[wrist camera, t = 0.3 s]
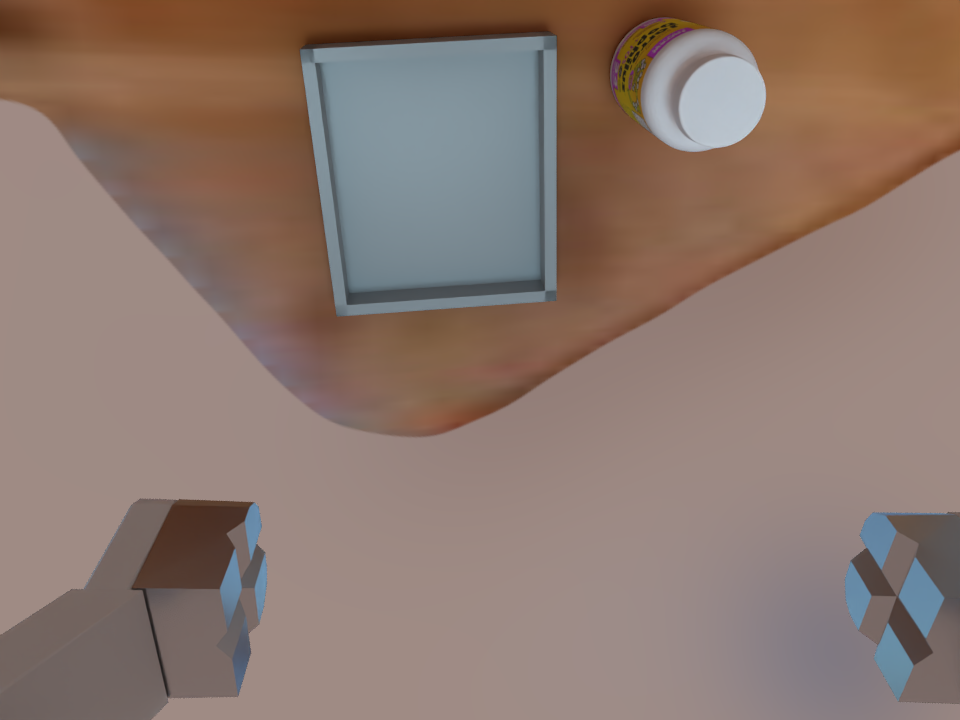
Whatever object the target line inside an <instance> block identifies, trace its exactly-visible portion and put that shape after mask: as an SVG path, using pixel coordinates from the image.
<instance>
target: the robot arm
mask: <svg viewBox="0 0 960 720" xmlns="http://www.w3.org/2000/svg"><path fill="white" fill-rule="evenodd" d="M261 527H262V524H261V518H260V513H259V507H258V506H257V505H256V503H254V502H234V501H207V500H181V499H179V500H166V499H139V500H138V501H136V502H135V503H133V504H132V505H131V506H130V508H129V510H128V511H127V513H126V515H125V517H124V519H123V520H122V522H121V524H120V526H119V527H118V529H117V531H116V533H115V534H114V536H113V538H112V540H111V542H110V543H109V545H108V547H107V549H106V550H105V552H104V554H103V556H102V557H101V559H100V561H99V563H98V565H97V566H96V568H95V570H94V571H93V573H92V575H91V577H90V579H89V580H88V582H87V584H86V586H85V587H84V589H71V590H70V591H68V592H66V593H65V594H63V595H62V596H60V597H59V598H57V599H56V600H54V601H53V602H51V603H49V604H48V605H46V606H45V607H43V608H42V609H40V610H39V611H37V612H36V613H34V614H32V615H31V616H29V617H28V618H26V619H25V620H23V621H22V622H20V623H18V624H17V625H15V626H14V627H12V628H11V629H9V630H8V631H6V632H5V633H3V634H1V635H0V720H151V719H152V718H153V717H154V716H155V715H156V714H157V713H158V712H159V711H160V710H161V709H162V708H163V707H164V706H165V705H166V704H167V703H168V698H202V697H238V695H239V692H240V689H241V685H242V682H243V678H244V675H245V671H246V668H247V664H248V661H249V658H250V654H251V648H250V641H249V634H248V633H250V632H251V631H252V630H253V629H254V628H255V627H257V626H258V625H259V623H260V619H261V615H262V611H263V608H264V602H265V594H266V587H267V564H266V556H265V552H264V551H263V550H262V549H261V548H260V547H259V546H258V545H257V544H256V543H257V540H258V537H259V533H260V531H261ZM860 537H861V539H862V541H863V542H864V544H865V546H866V549H864V550H863V551H862V552H861V553H860V554H858V555H857V556H856V557H854V558H853V559H852V560H851V561H850V565H849V568H848V571H847V574H846V577H845V595H846V596H845V597H846V603H847V606H848V610H849V613H850V616H851V618H852V620H853V621H854V623H855V625H856V627H857V629H858V631H860V632H861V633H862V634H864V635H865V636H866V637H868V638H869V639H871V640H872V641H873V642H875V643H876V644H877V649H876V652H875V656H874V660H875V661H876V663H877V665H878V667H879V669H880V670H881V672H882V674H883V676H884V677H885V679H886V681H887V683H888V685H889V686H890V688H891V690H892V692H893V693H894V695H895V697H896V699H897V701H898V702H922V703H950V704H951V703H952V704H960V512H948V513H946V514H945V513H872V514H871V515H870V516H869V517H868V518H867V519H866V521H865V523H864V525H863V528H862V530H861V533H860Z"/></svg>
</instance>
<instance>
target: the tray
mask: <svg viewBox="0 0 960 720" xmlns="http://www.w3.org/2000/svg"><path fill="white" fill-rule="evenodd" d="M300 55H301V62H302V69H303V76H304V84H305V91H306V98H307V105H308V112H309V120H310V127H311V134H312V141H313V148H314V156H315V163H316V170H317V177H318V185H319V192H320V199H321V206H322V213H323V221H324V228H325V235H326V242H327V249H328V257H329V264H330V271H331V278H332V285H333V293H334V300H335V307H336V314H337V316H350V315H364V314H378V313H392V312H406V311H420V310H434V309H447V308H461V307H475V306H489V305H503V304H517V303H531V302H545V301H556V69H557V36H556V35H555V34H553V33H551V32H549V31H546V32H527V33H509V34H491V35H472V36H454V37H436V38H418V39H399V40H381V41H363V42H344V43H326V44H308V45H305V46H303V47H302V48H301V49H300Z"/></svg>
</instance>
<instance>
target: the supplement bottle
mask: <svg viewBox="0 0 960 720" xmlns="http://www.w3.org/2000/svg"><path fill="white" fill-rule="evenodd" d="M610 83H611V89H612V92H613V95H614V97H615V99H616V101H617V103H618V104H619V106H620V107H621V108H622V109H623V110H624V111H625V113H626V114H627V115H629V116H630V117H631V118H632V119H634V120H635V121H636V122H638V123H639V124H640V125H641V126H643V127H644V128H645V129H647V130H648V131H649V132H651V133H652V134H653V135H654V136H656V137H657V138H658V139H660V140H661V141H663V142H664V143H666V144H667V145H669V146H671V147H673V148H675V149H678V150H682V151H688V152H699V151H705V150H709V149H713V148H720V147H726V146H729V145H732V144H734V143H736V142H738V141H740V140H742V139H743V138H744V137H746V136H747V135H748V134H749V133H750V132H751V131H752V130H753V129H754V127H755V126H756V124H757V123H758V121H759V120H760V118H761V116H762V113H763V110H764V107H765V101H766V89H765V84H764V81H763V78H762V76H761V74H760V72H759V71H758V67H757V63H756V61H755V58H754V56H753V55H752V53H751V51H750V50H749V49H748V47H747V46H746V45H745V44H744V43H743V42H742V41H740V40H739V39H738V38H736V37H735V36H733V35H731V34H729V33H726V32H724V31H721V30H717V29H713V28H709V27H706V26H702V25H698V24H695V23H691V22H688V21H684V20H680V19H676V18H668V17H663V18H655V19H651V20H648V21H645V22H643V23H641V24H639V25H638V26H636V27H635V28H634V29H632V30H631V31H630V32H629V33H628V34H627V35H626V36H625V37H624V38H623V39H622V41H621V42H620V44H619V45H618V47H617V49H616V51H615V54H614V56H613V59H612V63H611V69H610Z"/></svg>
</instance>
